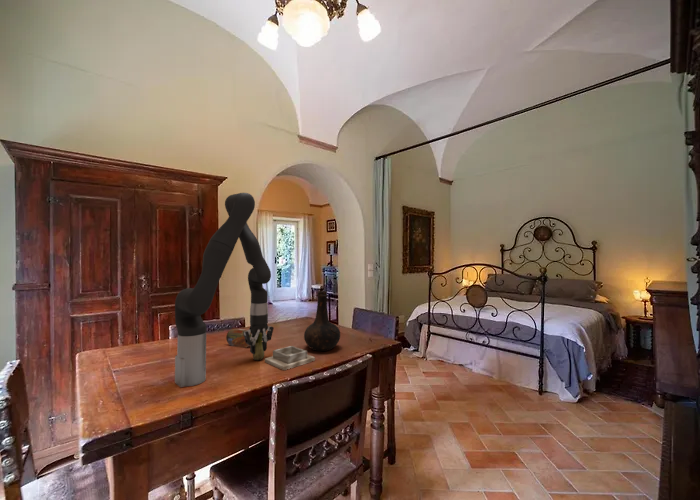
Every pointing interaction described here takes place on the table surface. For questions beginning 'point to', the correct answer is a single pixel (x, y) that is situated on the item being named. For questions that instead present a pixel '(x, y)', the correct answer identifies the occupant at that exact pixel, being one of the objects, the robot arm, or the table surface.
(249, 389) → the table surface
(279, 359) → the grey piece
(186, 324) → the robot arm
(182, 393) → the table surface
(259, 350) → the fennel bulb
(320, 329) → the glass bottle
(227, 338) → the tin
